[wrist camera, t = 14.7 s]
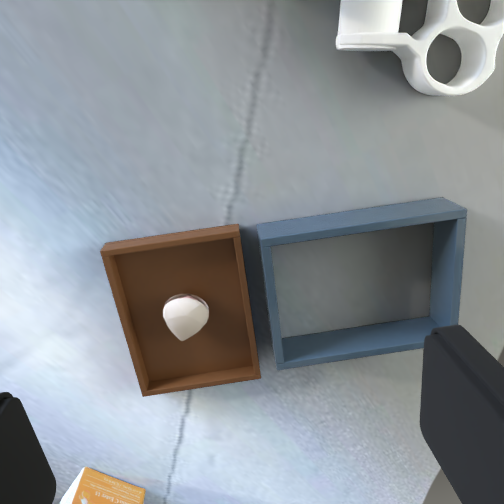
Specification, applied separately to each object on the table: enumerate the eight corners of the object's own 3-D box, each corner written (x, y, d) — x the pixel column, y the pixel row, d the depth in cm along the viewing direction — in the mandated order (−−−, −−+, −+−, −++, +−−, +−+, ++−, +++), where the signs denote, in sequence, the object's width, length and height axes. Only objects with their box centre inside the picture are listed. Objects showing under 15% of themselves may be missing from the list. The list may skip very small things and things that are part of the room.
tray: (105, 242, 37) (99, 251, 35) (238, 223, 37) (239, 230, 35) (145, 383, 43) (142, 396, 41) (259, 366, 43) (261, 378, 42)
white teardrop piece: (212, 292, 39) (211, 305, 37) (204, 336, 41) (203, 351, 39) (167, 286, 39) (163, 299, 36) (161, 331, 40) (157, 346, 38)
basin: (256, 224, 37) (260, 239, 34) (443, 196, 38) (467, 208, 34) (271, 346, 43) (276, 370, 39) (436, 321, 43) (456, 343, 39)
